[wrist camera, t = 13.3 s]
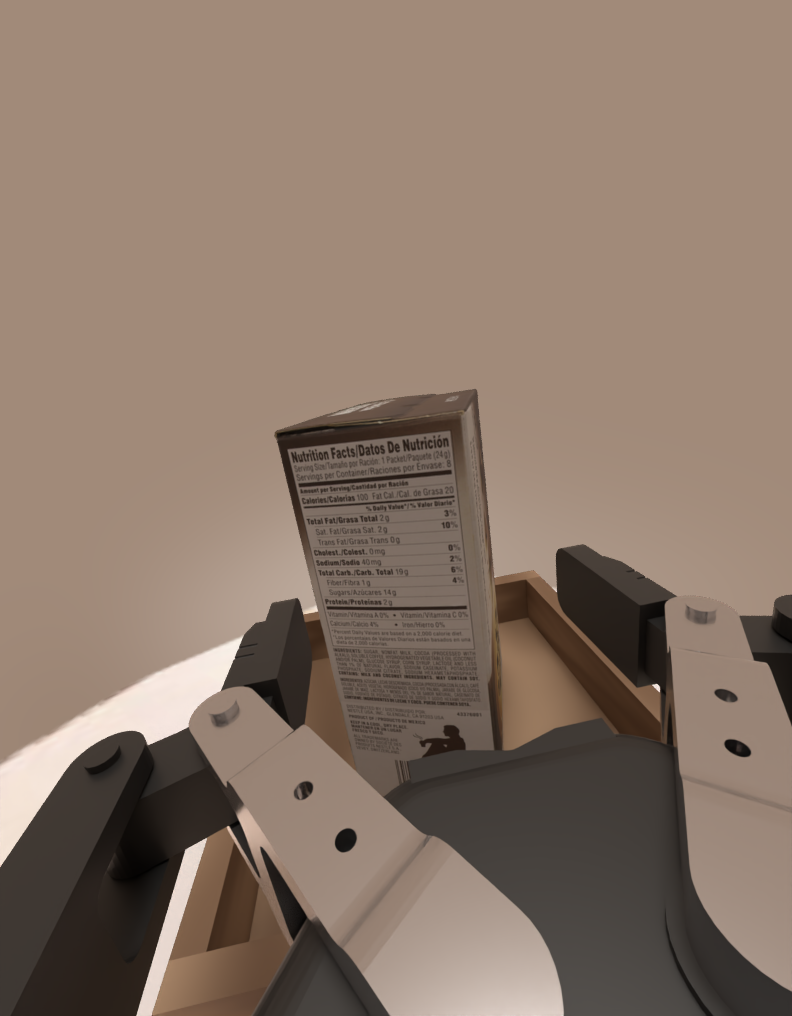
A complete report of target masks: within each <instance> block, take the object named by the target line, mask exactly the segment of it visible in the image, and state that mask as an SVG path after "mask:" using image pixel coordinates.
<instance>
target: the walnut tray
mask: <svg viewBox="0 0 792 1016" xmlns="http://www.w3.org/2000/svg"><path fill="white" fill-rule="evenodd" d="M494 581H495V592H496V603H497V615H498V626H499V636H500V646H501V656H502V701H503V750H513V749H516V748H518V747H520V746H522V745H524V744H525V743H527V742H529V741H531V740H533V739H535V738H537V737H539V736H541V735H543V734H545V733H547V732H549V731H550V730H552V729H554V728H558V727H562V726H566V725H571V724H575V723H580V722H584V721H589V720H593V719H598V718H602V719H603V720H604V721H605V723H606V724H607V725H608V726H609V728H610V729H611V730H612V732H613V733H614V734H627V735H634V736H639V737H644V738H648V739H652V740H655V741H659V742H661V726H660V693H659V692H658V691H657V690H656V689H655V688H654V687H653V686H652V685H648V686H644V687H639V688H637V687H636V686H635V685H634V684H633V683H632V682H631V681H630V680H629V679H628V678H627V677H626V676H625V675H624V674H623V673H622V672H621V671H620V670H619V669H618V668H617V667H616V666H615V665H614V664H613V663H612V662H611V661H610V660H609V659H608V658H607V657H606V656H605V655H604V654H603V653H602V652H601V651H600V650H599V649H598V648H597V647H596V646H595V645H594V643H593V642H592V641H591V640H590V639H589V638H588V637H587V636H586V635H585V634H584V633H583V632H582V631H581V630H580V629H579V628H578V627H577V626H576V625H575V624H574V623H573V622H572V621H571V620H570V619H569V618H568V617H567V616H566V615H565V614H564V612H563V611H562V609H561V607H560V604H559V601H558V597H557V592H556V591H554V590H553V589H552V588H551V587H550V586H549V585H548V584H547V583H546V582H545V581H544V580H543V579H542V578H541V577H540V576H539V575H538V574H537V573H536V572H535V571H534V570H533V571H527V572H522V573H517V574H511V575H506V576H501V577H496V578H494ZM303 616H304V620H305V624H306V628H307V632H308V636H309V640H310V645H311V651H312V669H311V677H310V685H309V693H308V702H307V710H306V718H305V725H306V726H308V727H309V728H310V729H311V730H312V731H313V732H315V733H316V734H317V735H318V736H319V737H320V738H321V739H322V740H323V741H324V742H325V743H326V744H327V745H328V746H329V747H330V748H332V749H333V750H334V751H335V752H336V753H337V754H338V755H339V756H340V757H341V758H342V759H343V760H344V761H345V762H346V763H347V764H348V765H350V766H351V767H352V768H353V769H354V770H355V771H356V767H355V763H354V759H353V755H352V752H351V747H350V743H349V739H348V734H347V730H346V726H345V722H344V718H343V714H342V709H341V705H340V701H339V697H338V693H337V688H336V684H335V680H334V676H333V671H332V667H331V663H330V659H329V654H328V650H327V645H326V641H325V637H324V633H323V629H322V625H321V621H320V617H319V612H315V613H310V614H304V615H303ZM382 797H384V796H382ZM289 949H290V946H289V944H288V942H287V940H286V938H285V936H284V934H283V932H282V930H281V928H280V926H279V924H278V922H277V920H276V918H275V916H274V913H273V911H272V909H271V907H270V905H269V902H268V900H267V898H266V897H265V895H264V893H263V891H262V889H261V887H260V886H259V884H258V882H257V880H256V879H255V877H254V875H253V873H252V872H251V870H250V868H249V866H248V865H247V863H246V861H245V859H244V858H243V856H242V854H241V852H240V851H239V849H238V847H237V845H236V843H235V842H234V840H233V838H232V836H231V835H230V833H229V831H228V829H227V827H226V828H224V829H222V830H220V831H218V832H216V833H214V834H213V835H211V836H209V837H208V838H207V841H206V844H205V848H204V851H203V854H202V857H201V860H200V864H199V867H198V870H197V873H196V876H195V879H194V883H193V886H192V889H191V892H190V895H189V898H188V902H187V905H186V908H185V911H184V914H183V918H182V921H181V924H180V927H179V930H178V933H177V937H176V940H175V943H174V946H173V949H172V952H171V956H170V959H169V962H168V965H167V968H166V972H165V975H164V978H163V981H162V984H161V987H160V991H159V994H158V997H157V1000H156V1003H155V1006H154V1010H153V1013H152V1016H251V1015H252V1013H253V1011H254V1010H255V1008H256V1006H257V1004H258V1003H259V1001H260V999H261V997H262V996H263V994H264V992H265V990H266V989H267V987H268V985H269V984H270V982H271V980H272V978H273V977H274V975H275V973H276V971H277V970H278V968H279V966H280V964H281V963H282V961H283V959H284V957H285V956H286V954H287V952H288V950H289Z"/></svg>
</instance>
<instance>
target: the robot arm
mask: <svg viewBox="0 0 792 1016" xmlns="http://www.w3.org/2000/svg"><path fill="white" fill-rule="evenodd" d="M556 575H557V597H558V601H559V604H560V607H561V609H562V611H563V612H564V614H565V615H566V616H567V617H568V618H569V619H570V620H571V621H572V622H573V623H574V624H575V625H576V626H577V627H578V628H579V629H580V630H581V631H582V632H583V633H584V634H585V635H586V636H587V637H588V638H589V639H590V640H591V641H592V642H593V643H594V645H595V646H596V647H597V648H598V649H599V650H600V651H601V652H602V653H603V654H604V655H605V656H606V657H607V658H608V659H609V660H610V661H611V662H612V663H613V664H614V665H615V666H616V667H617V668H618V669H619V670H620V671H621V672H622V673H623V674H624V675H625V676H626V677H627V678H628V679H629V680H630V681H631V682H632V683H633V684H634V685H635V686H636V687H637V688H639V687H644V686H648V685H653V684H658V685H659V686H660V726H661V742H659V741H655V740H652V739H648V738H644V737H639V736H634V735H627V734H614V733H613V732H612V730H611V729H610V728H609V726H608V725H607V724H606V723H605V721H604V720H603V719H602V718H598V719H593V720H589V721H584V722H580V723H575V724H571V725H566V726H562V727H558V728H554V729H552V730H550V731H549V732H547V733H545V734H543V735H541V736H539V737H537V738H535V739H533V740H531V741H529V742H527V743H525V744H524V745H522V746H520V747H518V748H516V749H513V750H455V751H450V752H446V753H441V754H437V755H432V756H428V757H423V758H419V759H414V760H410V761H408V764H409V770H410V776H411V779H409V780H407V781H405V782H403V783H402V784H400V785H399V786H397V787H396V788H394V789H393V790H391V791H390V792H389V793H388V794H386V795H385V796H384V797H382V796H381V795H380V794H379V793H378V792H377V791H376V790H375V789H374V788H373V787H372V786H371V785H370V784H369V783H368V782H366V781H365V780H364V779H363V778H362V777H361V776H360V775H359V774H358V773H357V772H356V771H355V770H354V769H353V768H352V767H351V766H350V765H348V764H347V763H346V762H345V761H344V760H343V759H342V758H341V757H340V756H339V755H338V754H337V753H336V752H335V751H334V750H333V749H332V748H330V747H329V746H328V745H327V744H326V743H325V742H324V741H323V740H322V739H321V738H320V737H319V736H318V735H317V734H316V733H315V732H313V731H312V730H311V729H310V728H309V727H308V726H306V725H305V718H306V710H307V702H308V693H309V685H310V677H311V669H312V651H311V645H310V640H309V636H308V632H307V628H306V624H305V620H304V616H303V612H302V608H301V604H300V601H299V600H298V598H295V599H291V600H285V601H280V602H274V603H272V604H271V607H270V610H269V613H268V616H267V618H266V621H264V622H259V623H255V624H254V625H253V626H252V627H251V629H249V630H248V631H247V632H246V633H245V635H244V637H243V639H242V641H241V644H240V646H239V649H238V651H237V653H236V656H235V660H234V661H233V663H232V665H231V668H230V670H229V673H228V675H227V677H226V680H225V682H224V685H223V687H222V689H221V691H220V692H218V693H216V694H214V695H212V696H211V697H209V698H208V699H206V700H205V701H204V702H203V703H202V704H201V705H200V706H198V708H197V709H196V710H195V711H194V713H193V714H192V716H191V718H190V721H189V727H188V728H186V729H184V730H182V731H180V732H178V733H176V734H173V735H171V736H169V737H166V738H164V739H162V740H160V741H157V742H155V743H153V744H150V745H147V742H146V740H145V738H144V736H143V735H142V734H141V733H140V732H137V731H125V732H121V733H117V734H114V735H112V736H109V737H107V738H105V739H103V740H101V741H99V742H97V743H96V744H94V745H93V746H91V747H90V748H88V749H87V750H86V751H84V752H83V753H82V754H81V755H79V756H78V757H77V758H76V759H75V760H74V761H73V762H72V763H71V764H70V766H69V767H68V768H67V770H66V771H65V772H64V774H63V775H62V777H61V778H60V780H59V781H58V783H57V784H56V786H55V787H54V789H53V790H52V792H51V793H50V795H49V796H48V798H47V799H46V800H45V802H44V803H43V805H42V806H41V808H40V809H39V811H38V812H37V814H36V815H35V817H34V818H33V820H32V821H31V823H30V824H29V826H28V827H27V829H26V830H25V832H24V833H23V834H22V836H21V837H20V839H19V840H18V842H17V843H16V845H15V846H14V848H13V849H12V851H11V852H10V854H9V855H8V857H7V858H6V860H5V861H4V863H3V864H2V866H1V867H0V1016H136V1015H137V1011H138V1008H139V1004H140V1001H141V998H142V994H143V991H144V988H145V984H146V981H147V977H148V974H149V971H150V967H151V964H152V961H153V957H154V954H155V950H156V947H157V944H158V940H159V937H160V934H161V930H162V927H163V923H164V920H165V917H166V913H167V910H168V907H169V903H170V900H171V896H172V893H173V890H174V886H175V883H176V880H177V876H178V873H179V869H180V866H181V863H182V859H183V856H184V853H185V849H187V848H189V847H191V846H192V845H194V844H196V843H198V842H200V841H202V840H203V839H205V838H207V837H209V836H211V835H213V834H214V833H216V832H218V831H220V830H222V829H224V828H226V827H227V829H228V831H229V833H230V835H231V836H232V838H233V840H234V842H235V843H236V845H237V847H238V849H239V851H240V852H241V854H242V856H243V858H244V859H245V861H246V863H247V865H248V866H249V868H250V870H251V872H252V873H253V875H254V877H255V879H256V880H257V882H258V884H259V886H260V887H261V889H262V891H263V893H264V895H265V897H266V898H267V900H268V902H269V905H270V907H271V909H272V911H273V913H274V916H275V918H276V920H277V922H278V924H279V926H280V928H281V930H282V932H283V934H284V936H285V938H286V940H287V942H288V944H289V946H290V949H289V950H288V952H287V954H286V956H285V957H284V959H283V961H282V963H281V964H280V966H279V968H278V970H277V971H276V973H275V975H274V977H273V978H272V980H271V982H270V984H269V985H268V987H267V989H266V990H265V992H264V994H263V996H262V997H261V999H260V1001H259V1003H258V1004H257V1006H256V1008H255V1010H254V1011H253V1013H252V1015H251V1016H792V595H785V596H781V597H779V598H777V599H776V600H775V602H774V609H773V615H772V616H739V615H738V613H737V612H736V611H735V610H734V609H733V608H731V607H730V606H728V605H726V604H724V603H722V602H719V601H717V600H714V599H710V598H705V597H700V596H679V597H677V596H676V595H674V594H672V593H671V592H669V591H667V590H666V589H664V588H663V587H661V586H660V585H658V584H656V583H655V582H653V581H652V580H650V579H648V578H645V576H644V575H642V574H640V573H639V572H637V571H636V572H635V571H634V569H632V568H631V567H629V566H628V565H626V564H624V563H623V562H621V561H618V560H614V559H611V558H608V557H605V556H601V555H600V554H598V553H597V552H595V551H594V550H592V549H590V548H589V547H587V546H586V545H583V544H582V545H576V546H571V547H566V548H561V549H558V551H557V553H556Z"/></svg>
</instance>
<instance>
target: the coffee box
mask: <svg viewBox="0 0 792 1016" xmlns="http://www.w3.org/2000/svg"><path fill="white" fill-rule="evenodd" d="M275 438H276V440H277V443H278V446H279V450H280V454H281V458H282V463H283V467H284V471H285V476H286V479H287V484H288V488H289V492H290V496H291V500H292V505H293V509H294V513H295V517H296V521H297V525H298V530H299V534H300V538H301V542H302V546H303V550H304V555H305V559H306V563H307V567H308V571H309V575H310V579H311V584H312V587H313V592H314V596H315V600H316V604H317V608H318V612H319V617H320V621H321V625H322V629H323V633H324V637H325V641H326V645H327V650H328V654H329V659H330V663H331V667H332V671H333V676H334V680H335V684H336V688H337V693H338V697H339V701H340V705H341V709H342V714H343V718H344V722H345V726H346V730H347V734H348V739H349V743H350V747H351V752H352V755H353V759H354V763H355V767H356V772H357V773H358V774H359V775H360V776H361V777H362V778H363V779H364V780H365V781H366V782H368V783H369V784H370V785H371V786H372V787H373V788H374V789H375V790H376V791H377V792H378V793H379V794H380V795H381V796H385V795H386V794H388V793H389V792H390V791H391V790H393V789H394V788H396V787H397V786H399V785H400V784H402V783H403V782H405V781H407V780H409V779H411V776H410V770H409V764H408V761H410V760H414V759H419V758H423V757H428V756H432V755H437V754H441V753H446V752H450V751H455V750H503V701H502V656H501V646H500V636H499V626H498V615H497V603H496V592H495V581H494V571H493V559H492V548H491V537H490V526H489V515H488V505H487V495H486V483H485V472H484V462H483V452H482V440H481V430H480V420H479V409H478V395H477V390H476V389H473V390H466V391H459V392H453V393H447V394H440V395H436V394H429V395H418V396H407V397H399V398H393V399H386V400H380V401H374V402H369V403H364V404H360V405H356V406H354V407H350V408H346V409H343V410H339V411H337V412H334V413H330V414H326V415H323V416H320V417H317V418H314V419H311V420H308V421H305V422H302V423H299V424H296V425H293V426H290V427H287V428H284V429H281V430H277V431H276V432H275Z"/></svg>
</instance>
